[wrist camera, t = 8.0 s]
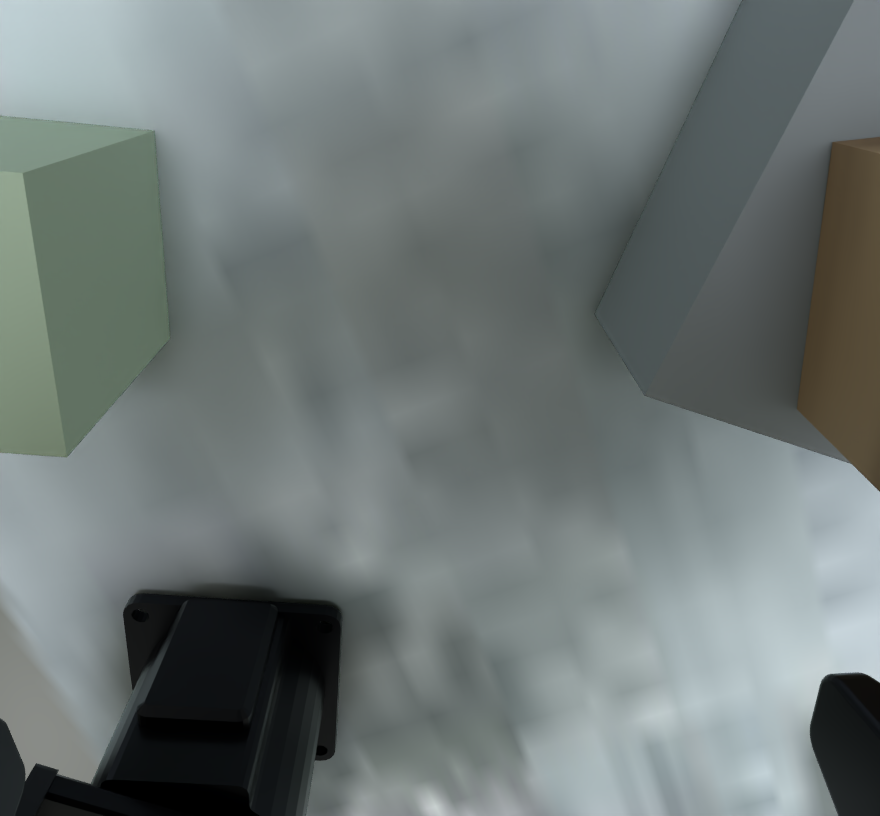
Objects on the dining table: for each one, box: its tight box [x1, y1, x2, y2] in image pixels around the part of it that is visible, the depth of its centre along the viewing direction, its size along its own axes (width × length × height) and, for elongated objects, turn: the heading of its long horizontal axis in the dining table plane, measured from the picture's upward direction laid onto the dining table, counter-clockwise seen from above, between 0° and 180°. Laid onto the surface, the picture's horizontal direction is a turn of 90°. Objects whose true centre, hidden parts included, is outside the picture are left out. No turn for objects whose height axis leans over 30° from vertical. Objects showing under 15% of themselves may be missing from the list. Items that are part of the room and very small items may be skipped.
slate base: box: [595, 0, 880, 464], centre depth 15 cm, size 8×8×5 cm
